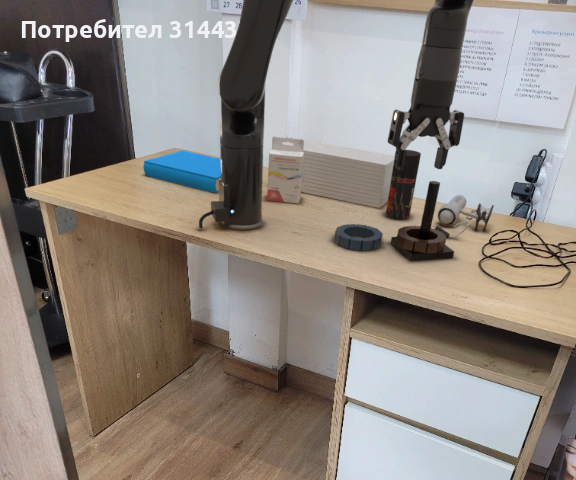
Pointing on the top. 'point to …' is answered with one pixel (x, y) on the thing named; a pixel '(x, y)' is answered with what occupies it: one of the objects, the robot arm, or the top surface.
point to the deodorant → (403, 187)
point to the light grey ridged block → (346, 173)
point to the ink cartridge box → (285, 170)
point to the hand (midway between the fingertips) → (418, 168)
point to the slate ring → (364, 244)
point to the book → (186, 170)
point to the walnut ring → (409, 241)
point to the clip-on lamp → (453, 209)
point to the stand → (426, 229)
